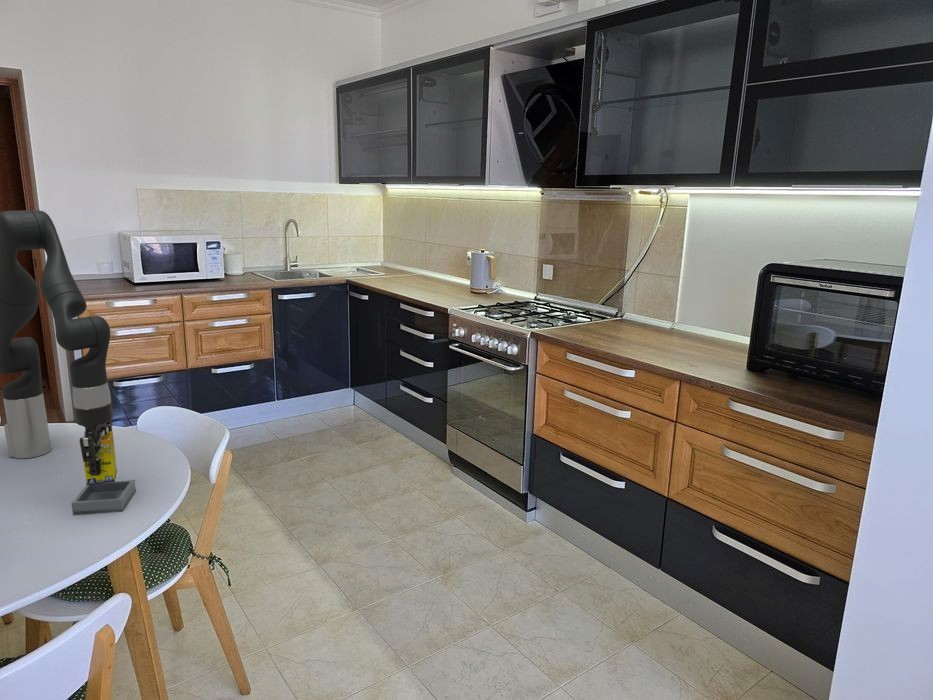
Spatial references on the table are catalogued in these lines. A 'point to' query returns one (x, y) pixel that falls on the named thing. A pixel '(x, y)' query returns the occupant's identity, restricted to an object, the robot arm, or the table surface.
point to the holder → (104, 497)
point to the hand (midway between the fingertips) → (101, 468)
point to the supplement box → (104, 462)
